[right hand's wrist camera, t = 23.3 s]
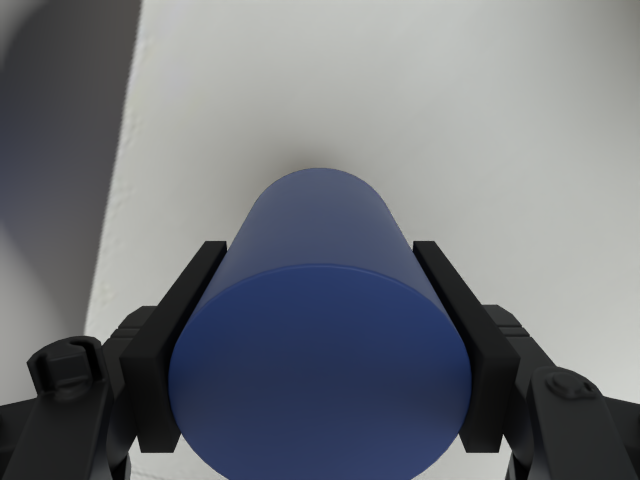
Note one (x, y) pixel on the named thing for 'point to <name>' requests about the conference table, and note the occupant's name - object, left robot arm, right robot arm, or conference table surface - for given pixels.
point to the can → (319, 345)
